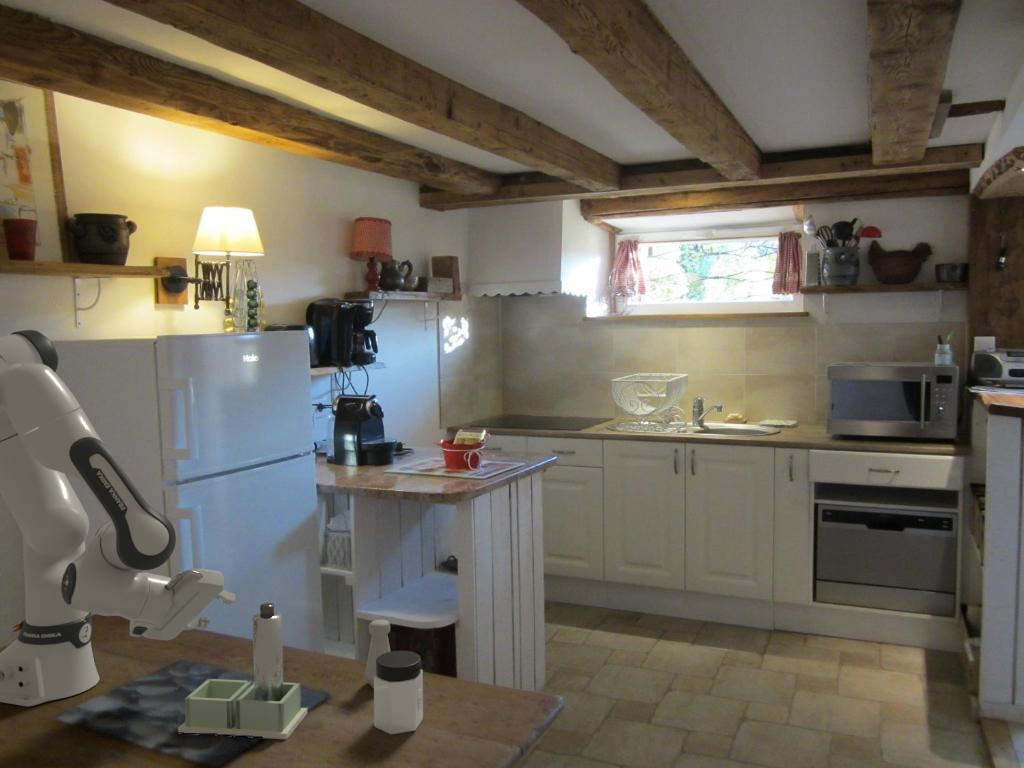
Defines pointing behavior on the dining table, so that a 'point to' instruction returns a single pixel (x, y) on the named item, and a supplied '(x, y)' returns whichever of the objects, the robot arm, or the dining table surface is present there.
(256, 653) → the pepper mill
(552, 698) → the dining table surface
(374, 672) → the salt shaker
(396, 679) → the jar
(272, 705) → the green divided tray
